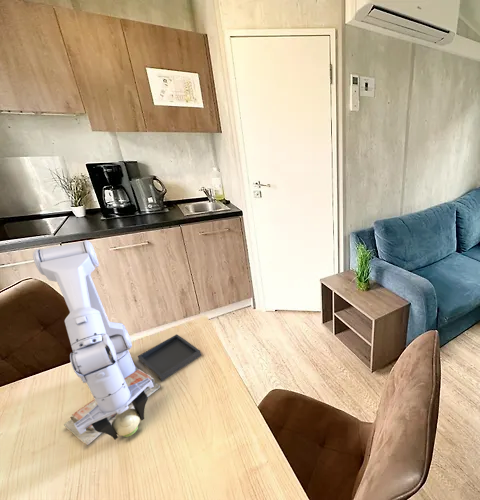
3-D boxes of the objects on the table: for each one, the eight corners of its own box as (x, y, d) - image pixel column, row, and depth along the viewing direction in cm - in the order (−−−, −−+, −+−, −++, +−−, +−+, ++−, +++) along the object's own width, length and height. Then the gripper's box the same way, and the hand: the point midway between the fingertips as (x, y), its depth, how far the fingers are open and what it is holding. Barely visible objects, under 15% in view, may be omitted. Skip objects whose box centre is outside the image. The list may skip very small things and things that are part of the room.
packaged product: (135, 364, 83) (157, 375, 80) (140, 376, 85) (161, 388, 82) (57, 416, 69) (79, 433, 65) (65, 429, 71) (87, 447, 67)
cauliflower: (113, 433, 69) (105, 417, 67) (137, 416, 73) (130, 401, 70) (122, 445, 66) (114, 429, 64) (146, 427, 70) (140, 412, 68)
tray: (139, 360, 91) (137, 356, 90) (178, 338, 100) (176, 334, 100) (161, 381, 84) (159, 376, 83) (201, 355, 93) (200, 350, 92)
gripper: (73, 422, 56) (98, 464, 61) (152, 373, 67) (167, 412, 72) (61, 404, 59) (86, 445, 65) (139, 360, 70) (154, 398, 76)
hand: (128, 426), depth 69 cm, fingers closed on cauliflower, 5 cm apart
